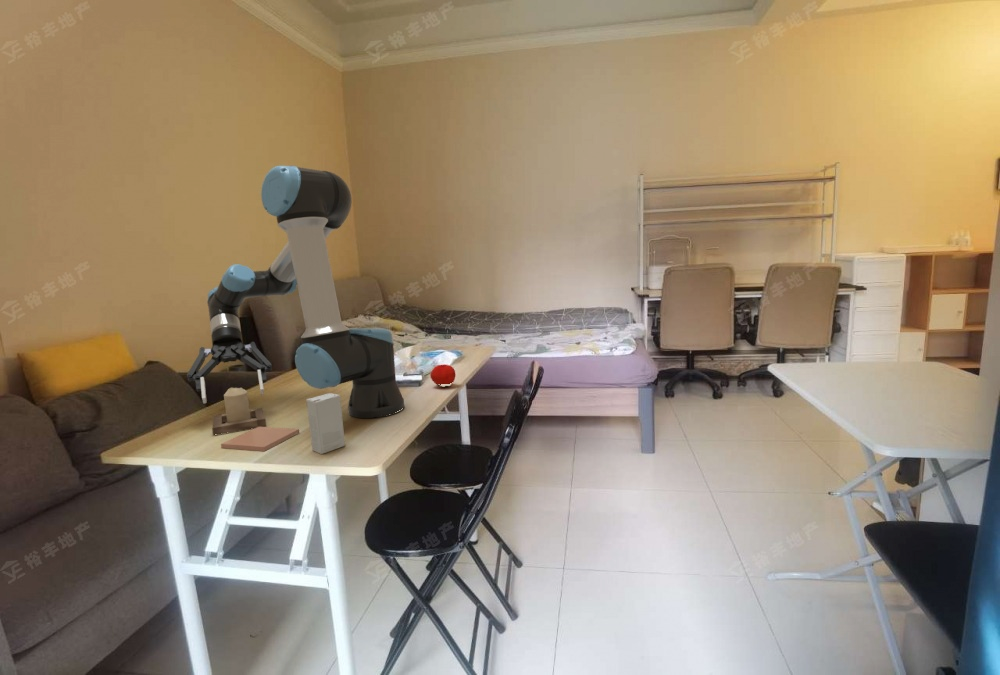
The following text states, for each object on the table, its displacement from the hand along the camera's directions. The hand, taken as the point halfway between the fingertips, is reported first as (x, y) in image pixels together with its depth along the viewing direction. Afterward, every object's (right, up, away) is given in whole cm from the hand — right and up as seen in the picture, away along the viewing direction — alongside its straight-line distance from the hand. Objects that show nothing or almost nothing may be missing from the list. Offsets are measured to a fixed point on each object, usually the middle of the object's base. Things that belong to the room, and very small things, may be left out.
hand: (234, 396), depth 133 cm
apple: (+52, -1, +30) cm, 60 cm away
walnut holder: (+1, -7, 0) cm, 8 cm away
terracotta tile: (+13, -9, -13) cm, 20 cm away
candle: (+1, -8, 0) cm, 8 cm away
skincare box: (+32, -10, -20) cm, 39 cm away
